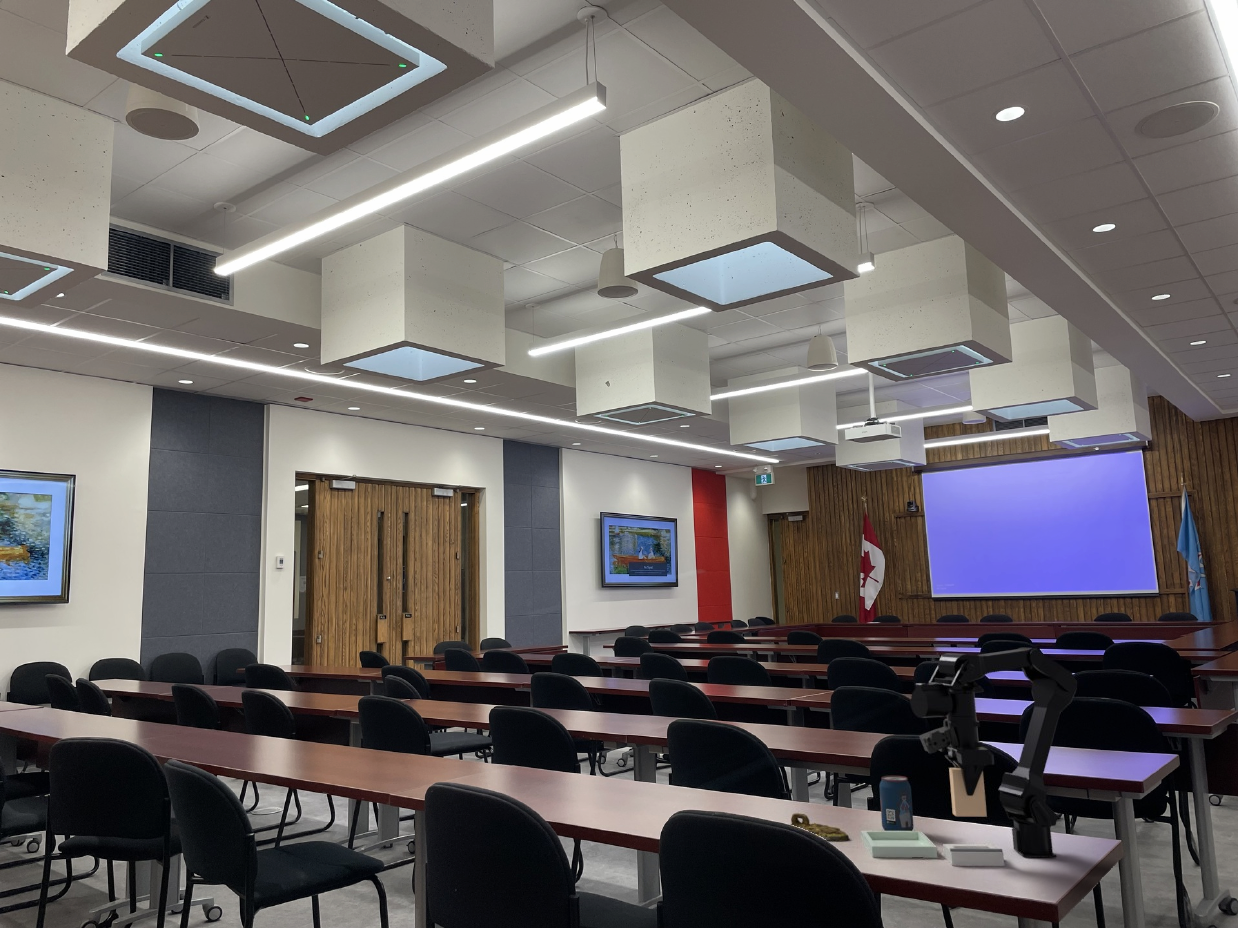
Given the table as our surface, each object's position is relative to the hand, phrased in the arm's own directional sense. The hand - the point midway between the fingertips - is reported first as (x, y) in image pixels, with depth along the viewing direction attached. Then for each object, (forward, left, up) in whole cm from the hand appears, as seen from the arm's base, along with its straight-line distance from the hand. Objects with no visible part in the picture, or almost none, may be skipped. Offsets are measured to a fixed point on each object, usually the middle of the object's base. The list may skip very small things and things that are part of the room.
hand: (967, 793), depth 176 cm
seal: (+28, -21, -14) cm, 37 cm away
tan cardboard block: (0, 0, -4) cm, 4 cm away
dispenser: (0, 0, -13) cm, 13 cm away
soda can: (+10, -23, -13) cm, 28 cm away
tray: (+13, -9, -13) cm, 20 cm away
